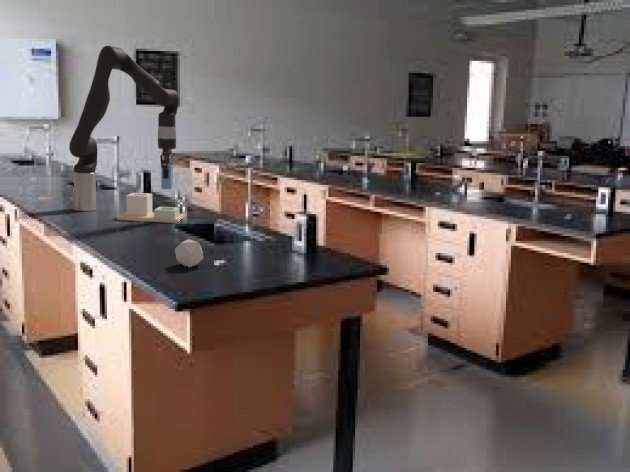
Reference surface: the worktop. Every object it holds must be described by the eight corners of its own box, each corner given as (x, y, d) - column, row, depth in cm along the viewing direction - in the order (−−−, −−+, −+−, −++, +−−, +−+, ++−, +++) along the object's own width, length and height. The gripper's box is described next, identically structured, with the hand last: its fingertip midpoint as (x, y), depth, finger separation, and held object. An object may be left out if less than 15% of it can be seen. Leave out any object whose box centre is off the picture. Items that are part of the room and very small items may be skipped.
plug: (161, 188, 272) (161, 165, 270) (163, 187, 276) (163, 164, 274) (170, 189, 272) (170, 165, 270) (172, 188, 276) (172, 165, 274)
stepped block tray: (117, 219, 272) (117, 196, 270) (127, 214, 286) (127, 192, 284) (178, 223, 272) (178, 199, 270) (185, 217, 286) (185, 195, 284)
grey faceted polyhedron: (183, 262, 210) (167, 241, 204) (207, 250, 210) (192, 228, 204) (185, 278, 203) (169, 256, 197) (210, 265, 203) (195, 243, 197)
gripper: (162, 136, 277) (162, 175, 280) (153, 137, 263) (154, 179, 266) (179, 136, 277) (179, 176, 280) (171, 138, 263) (171, 180, 266)
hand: (167, 177), depth 273 cm, fingers closed on plug, 4 cm apart
